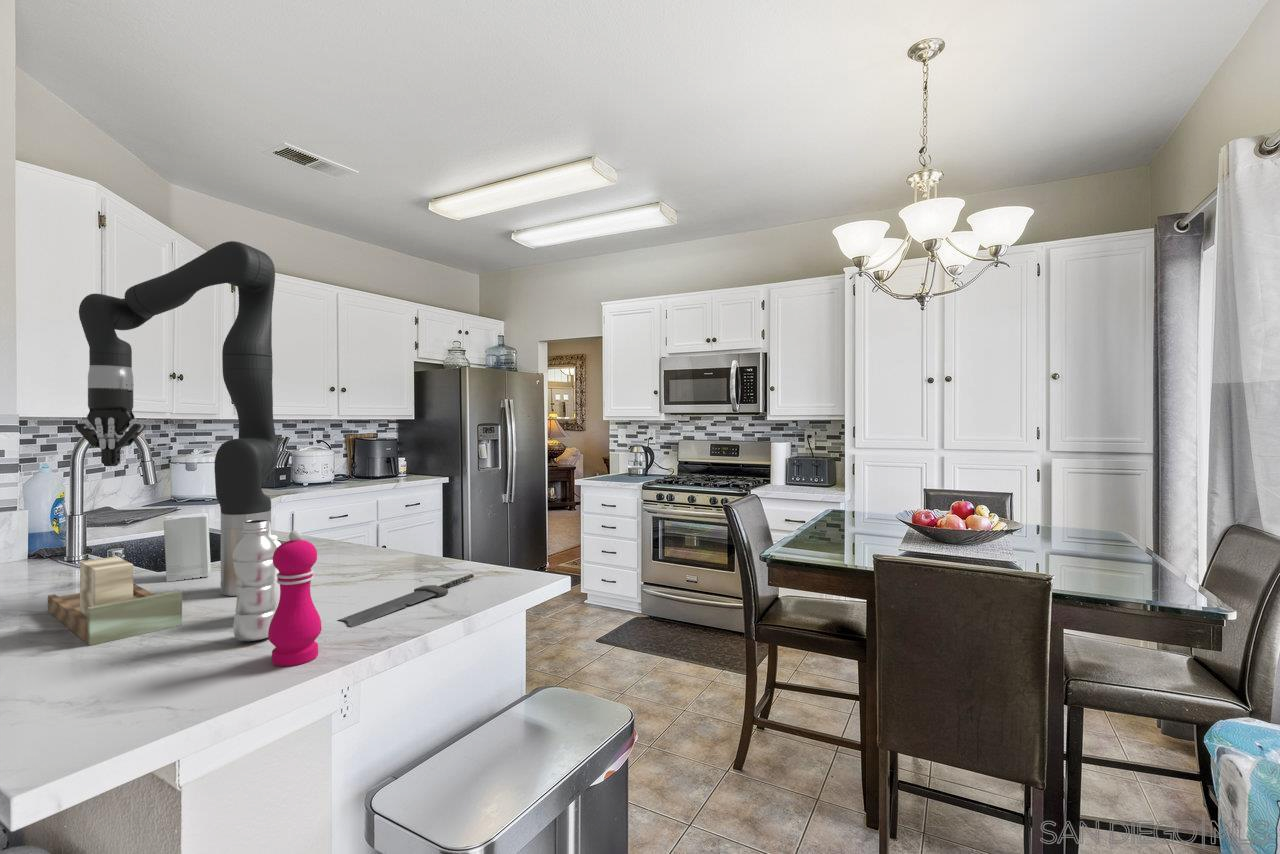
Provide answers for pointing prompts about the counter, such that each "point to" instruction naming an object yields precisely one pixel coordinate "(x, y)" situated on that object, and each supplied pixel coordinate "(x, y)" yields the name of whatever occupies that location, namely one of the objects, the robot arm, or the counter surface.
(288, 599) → the pepper mill
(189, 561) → the skincare box
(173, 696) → the counter surface
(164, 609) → the trap deck
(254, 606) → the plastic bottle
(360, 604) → the counter surface
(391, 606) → the toy broadsword
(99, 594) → the maple block
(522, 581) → the counter surface
